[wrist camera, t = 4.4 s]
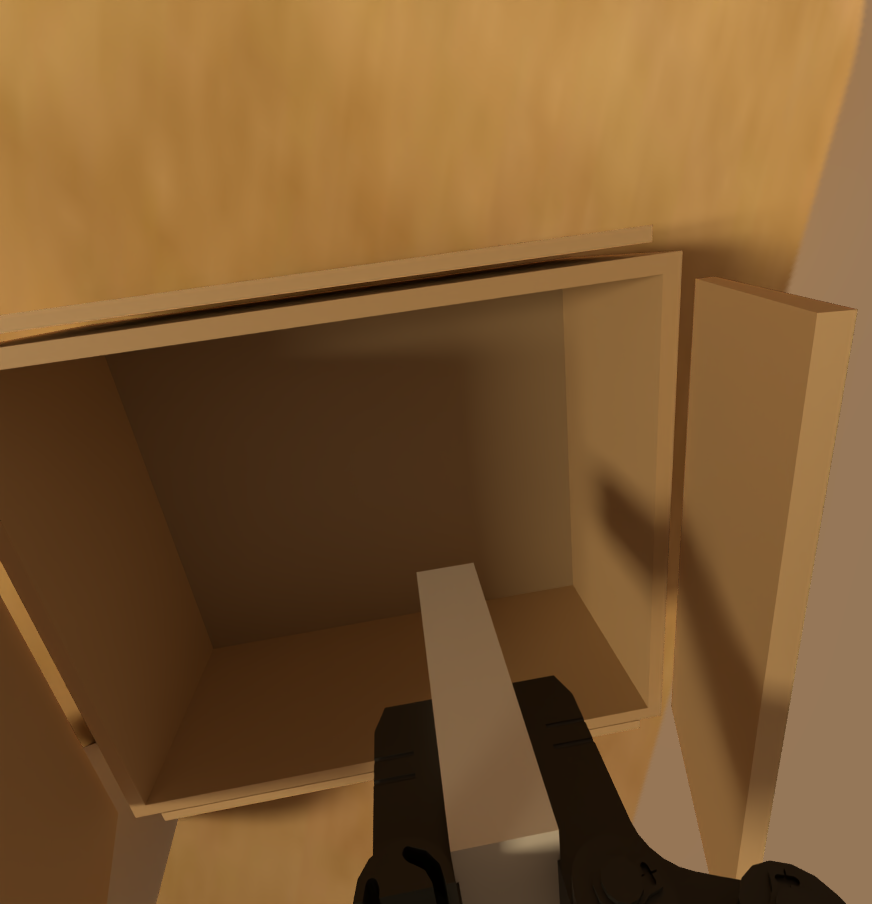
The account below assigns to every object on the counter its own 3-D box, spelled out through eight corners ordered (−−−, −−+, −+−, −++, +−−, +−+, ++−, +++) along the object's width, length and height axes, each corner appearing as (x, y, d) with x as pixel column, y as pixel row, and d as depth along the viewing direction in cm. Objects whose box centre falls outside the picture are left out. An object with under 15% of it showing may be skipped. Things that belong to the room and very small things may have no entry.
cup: (-40, 768, 26) (-213, 974, 18) (38, 669, 24) (-115, 850, 17) (152, 842, 29) (73, 1041, 21) (231, 759, 27) (176, 943, 20)
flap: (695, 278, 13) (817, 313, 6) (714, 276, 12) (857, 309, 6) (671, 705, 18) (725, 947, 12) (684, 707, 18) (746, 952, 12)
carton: (79, 306, 19) (-120, 331, 11) (568, 238, 20) (684, 220, 12) (213, 662, 25) (142, 831, 17) (579, 596, 26) (659, 728, 18)
